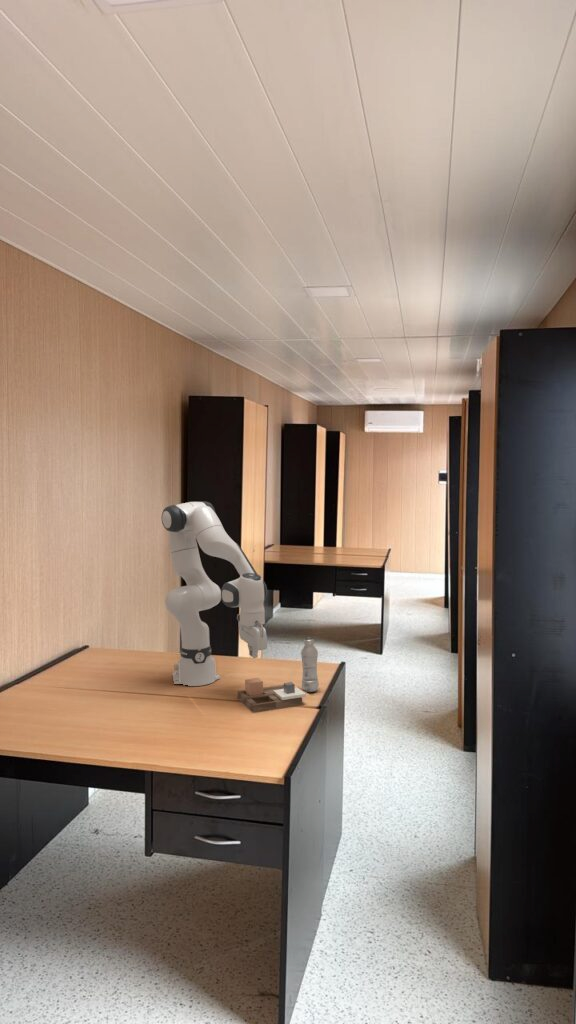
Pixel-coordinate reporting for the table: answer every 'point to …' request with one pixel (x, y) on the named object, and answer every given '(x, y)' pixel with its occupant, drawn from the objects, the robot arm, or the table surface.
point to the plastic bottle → (309, 666)
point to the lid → (289, 692)
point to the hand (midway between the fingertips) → (253, 656)
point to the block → (254, 687)
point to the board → (267, 700)
